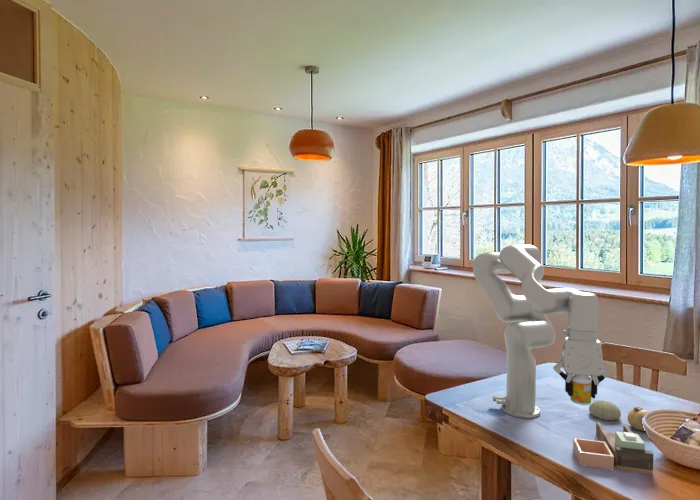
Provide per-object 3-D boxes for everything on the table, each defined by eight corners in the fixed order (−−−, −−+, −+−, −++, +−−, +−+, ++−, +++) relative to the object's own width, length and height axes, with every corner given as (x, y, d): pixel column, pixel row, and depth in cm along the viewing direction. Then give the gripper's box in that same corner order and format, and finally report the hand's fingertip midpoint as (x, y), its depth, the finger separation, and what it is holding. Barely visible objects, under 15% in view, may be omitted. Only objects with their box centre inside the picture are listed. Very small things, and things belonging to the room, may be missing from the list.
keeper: (644, 465, 114) (645, 440, 114) (621, 462, 116) (621, 438, 116) (636, 454, 120) (637, 431, 119) (614, 452, 121) (615, 428, 121)
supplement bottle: (566, 399, 129) (566, 367, 128) (581, 397, 130) (582, 365, 129) (579, 406, 123) (580, 373, 123) (595, 404, 125) (596, 371, 124)
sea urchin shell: (591, 402, 154) (609, 390, 150) (608, 422, 150) (627, 411, 146) (582, 409, 148) (601, 398, 143) (600, 431, 144) (619, 420, 139)
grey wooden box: (652, 474, 113) (653, 454, 112) (616, 469, 115) (617, 449, 115) (626, 437, 132) (627, 420, 131) (595, 434, 134) (596, 416, 134)
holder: (579, 465, 117) (580, 452, 117) (572, 449, 125) (573, 437, 125) (613, 469, 115) (614, 456, 115) (604, 453, 123) (605, 441, 123)
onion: (643, 422, 142) (644, 401, 142) (664, 434, 134) (664, 412, 134) (621, 424, 141) (622, 403, 140) (641, 436, 133) (642, 413, 133)
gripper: (552, 336, 124) (551, 397, 125) (619, 340, 119) (618, 403, 121) (548, 330, 131) (546, 388, 132) (611, 333, 127) (609, 393, 128)
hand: (580, 394), depth 126 cm, fingers closed on supplement bottle, 5 cm apart
